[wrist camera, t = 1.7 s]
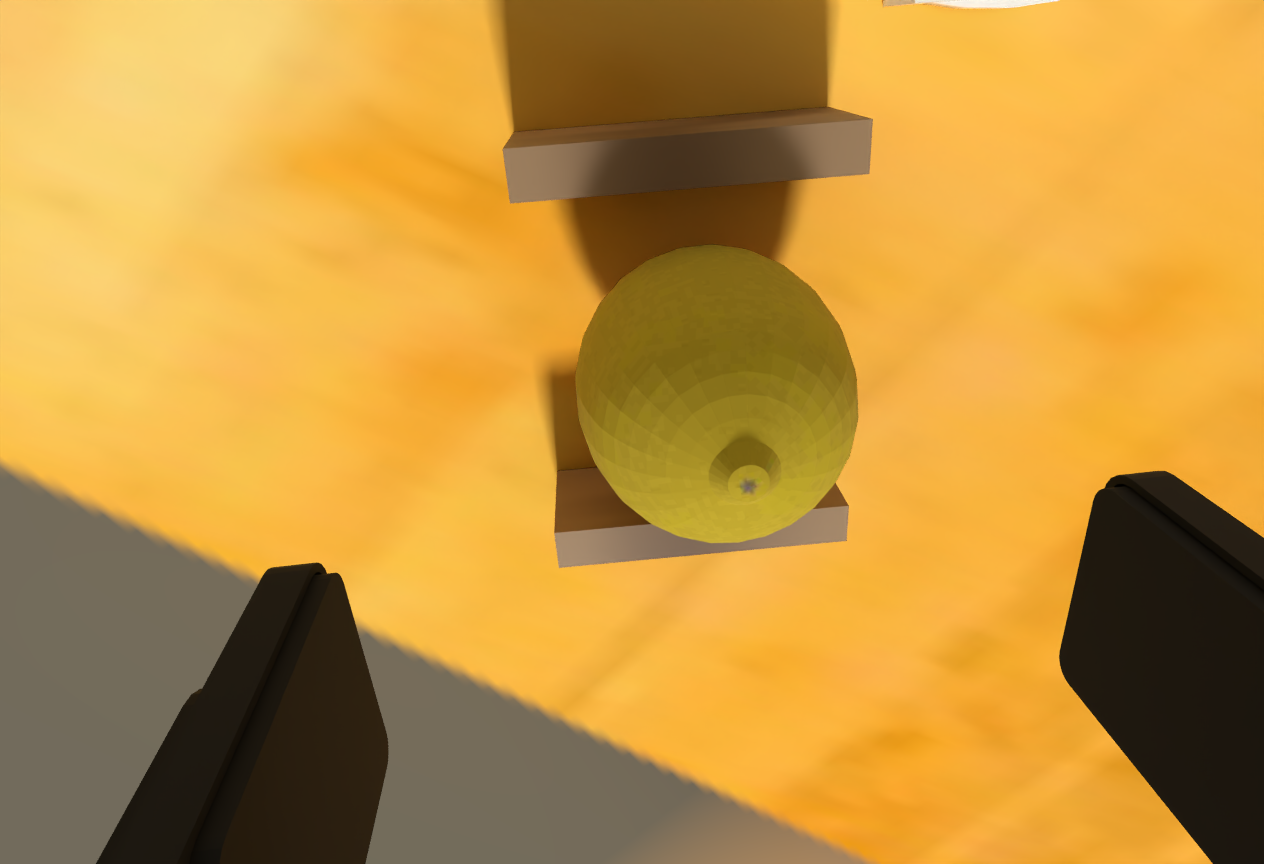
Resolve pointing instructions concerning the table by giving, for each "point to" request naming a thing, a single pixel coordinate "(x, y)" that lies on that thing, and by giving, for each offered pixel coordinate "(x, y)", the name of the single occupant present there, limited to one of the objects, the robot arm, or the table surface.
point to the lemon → (716, 394)
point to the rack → (661, 162)
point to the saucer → (967, 3)
